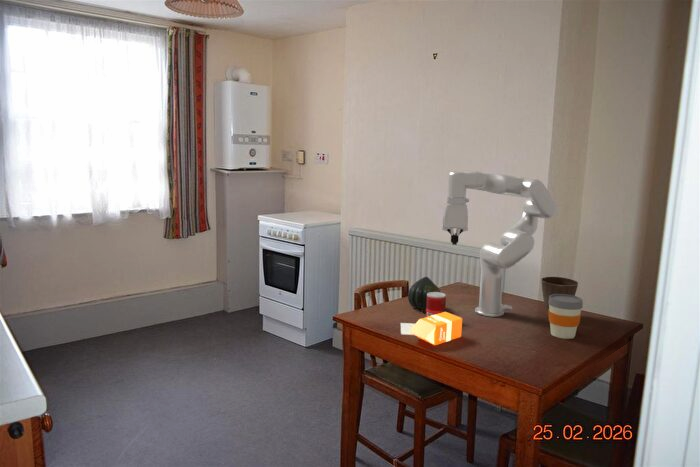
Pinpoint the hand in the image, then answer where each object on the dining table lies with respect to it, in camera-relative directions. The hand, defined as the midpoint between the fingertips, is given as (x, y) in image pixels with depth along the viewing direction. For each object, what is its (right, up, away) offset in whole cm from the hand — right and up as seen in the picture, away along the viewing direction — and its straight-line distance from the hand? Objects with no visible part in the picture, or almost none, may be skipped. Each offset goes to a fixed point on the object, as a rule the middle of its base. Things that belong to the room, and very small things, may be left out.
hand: (454, 244), depth 219 cm
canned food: (-8, -32, +2) cm, 33 cm away
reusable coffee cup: (+40, -36, -15) cm, 56 cm away
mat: (-15, -34, -12) cm, 39 cm away
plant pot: (+47, -32, +8) cm, 57 cm away
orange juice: (-4, -31, -17) cm, 35 cm away
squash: (-11, -30, +17) cm, 36 cm away
